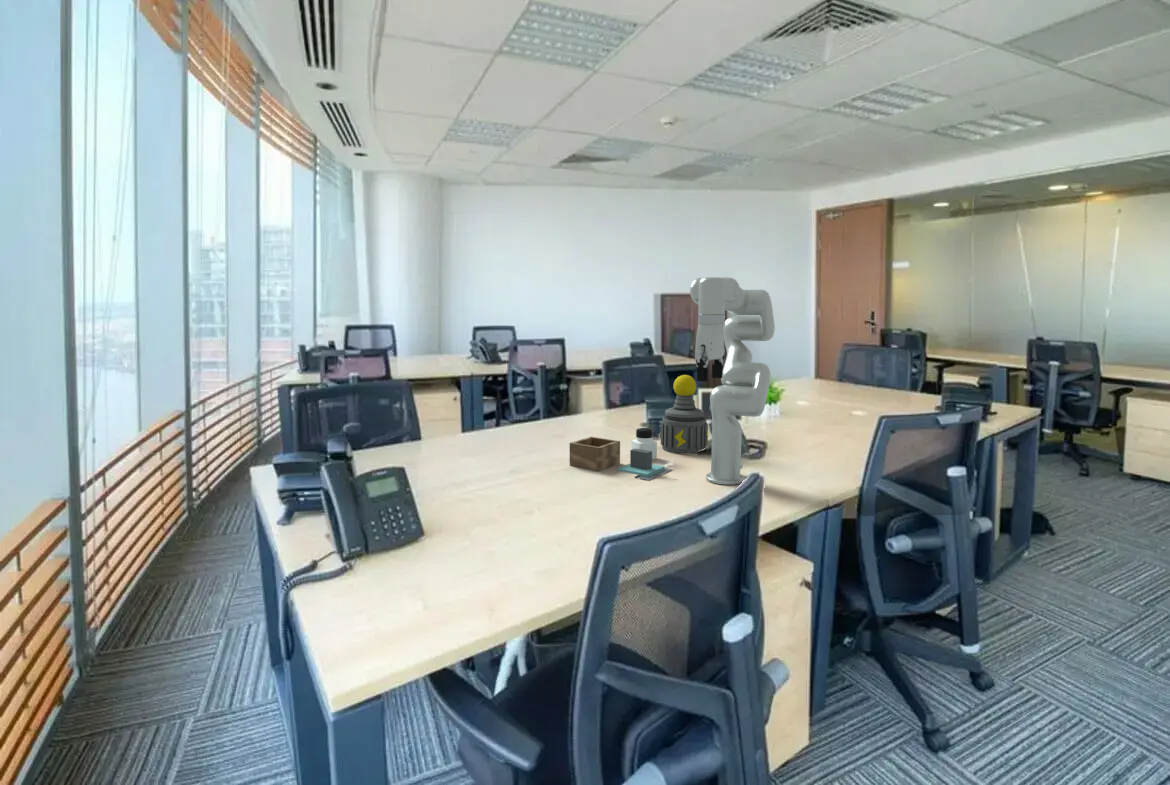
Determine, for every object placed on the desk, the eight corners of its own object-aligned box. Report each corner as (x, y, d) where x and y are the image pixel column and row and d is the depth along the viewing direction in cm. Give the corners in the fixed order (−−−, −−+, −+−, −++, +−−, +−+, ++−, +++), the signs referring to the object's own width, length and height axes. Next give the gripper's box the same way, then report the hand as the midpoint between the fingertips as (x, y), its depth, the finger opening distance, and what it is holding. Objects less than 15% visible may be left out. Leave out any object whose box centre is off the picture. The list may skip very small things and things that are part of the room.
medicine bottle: (656, 460, 232) (657, 429, 230) (639, 462, 229) (639, 430, 228) (648, 456, 238) (648, 425, 237) (631, 458, 236) (631, 427, 234)
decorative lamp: (656, 452, 244) (657, 376, 240) (664, 442, 262) (665, 371, 258) (704, 455, 239) (706, 378, 234) (709, 444, 257) (711, 372, 252)
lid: (635, 464, 226) (635, 445, 224) (664, 469, 218) (664, 449, 217) (617, 471, 216) (617, 451, 215) (646, 477, 209) (647, 456, 208)
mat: (633, 463, 228) (633, 462, 228) (672, 470, 219) (672, 469, 219) (609, 472, 216) (609, 472, 216) (648, 480, 206) (648, 479, 206)
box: (591, 459, 233) (591, 436, 232) (619, 465, 225) (620, 441, 224) (569, 467, 223) (569, 443, 222) (599, 473, 215) (599, 448, 214)
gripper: (712, 319, 188) (711, 375, 191) (685, 321, 175) (684, 381, 177) (735, 320, 184) (734, 377, 186) (710, 321, 170) (708, 383, 173)
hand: (709, 379), depth 182 cm, fingers open, 9 cm apart
